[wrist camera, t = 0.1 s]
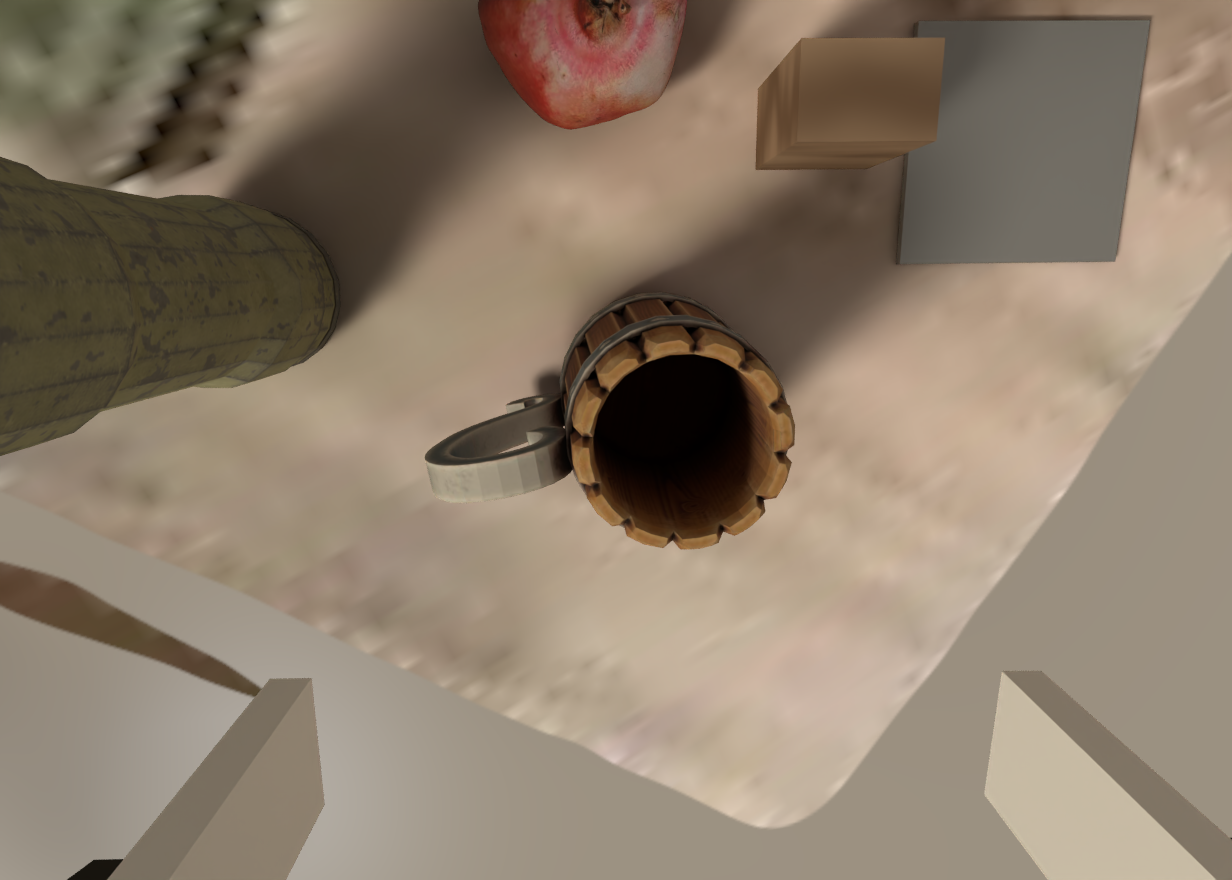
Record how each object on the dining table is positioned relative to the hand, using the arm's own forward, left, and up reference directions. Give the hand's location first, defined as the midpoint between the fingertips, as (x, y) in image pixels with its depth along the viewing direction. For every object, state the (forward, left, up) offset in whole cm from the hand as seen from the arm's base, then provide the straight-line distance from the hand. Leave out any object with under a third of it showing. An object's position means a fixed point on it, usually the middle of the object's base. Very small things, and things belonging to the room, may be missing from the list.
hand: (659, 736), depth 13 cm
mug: (-2, 0, -28) cm, 28 cm away
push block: (-16, +11, -28) cm, 34 cm away
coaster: (-15, +22, -28) cm, 38 cm away
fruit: (-20, -1, -28) cm, 35 cm away
